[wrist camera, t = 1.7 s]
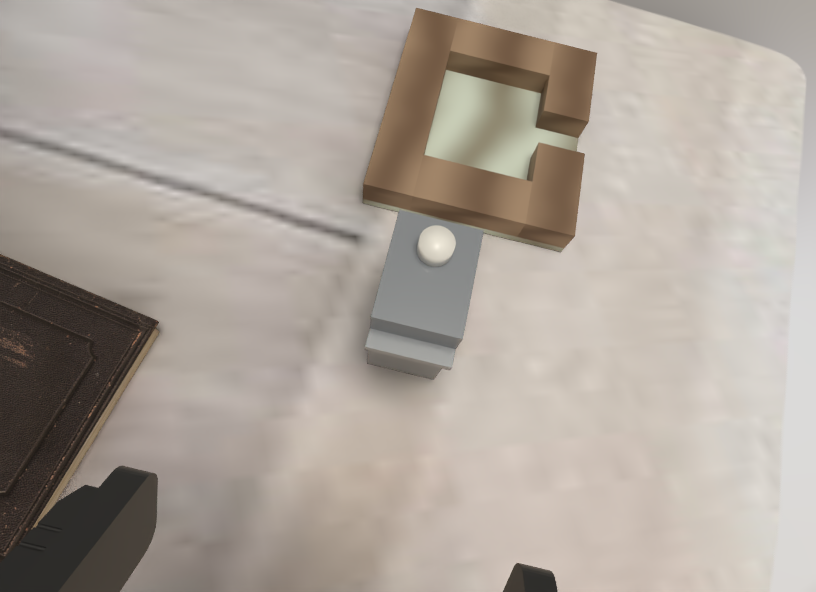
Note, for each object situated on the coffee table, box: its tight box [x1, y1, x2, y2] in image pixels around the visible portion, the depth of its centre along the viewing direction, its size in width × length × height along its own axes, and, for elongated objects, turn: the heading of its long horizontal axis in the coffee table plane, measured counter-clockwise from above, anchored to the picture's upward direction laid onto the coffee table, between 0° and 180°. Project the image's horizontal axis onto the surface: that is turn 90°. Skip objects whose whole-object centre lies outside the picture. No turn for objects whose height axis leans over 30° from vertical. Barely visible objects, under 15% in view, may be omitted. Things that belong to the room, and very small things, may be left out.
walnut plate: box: [363, 8, 597, 252], centre depth 40 cm, size 15×17×3 cm
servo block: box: [365, 210, 484, 380], centre depth 30 cm, size 4×8×11 cm, turn 167°
